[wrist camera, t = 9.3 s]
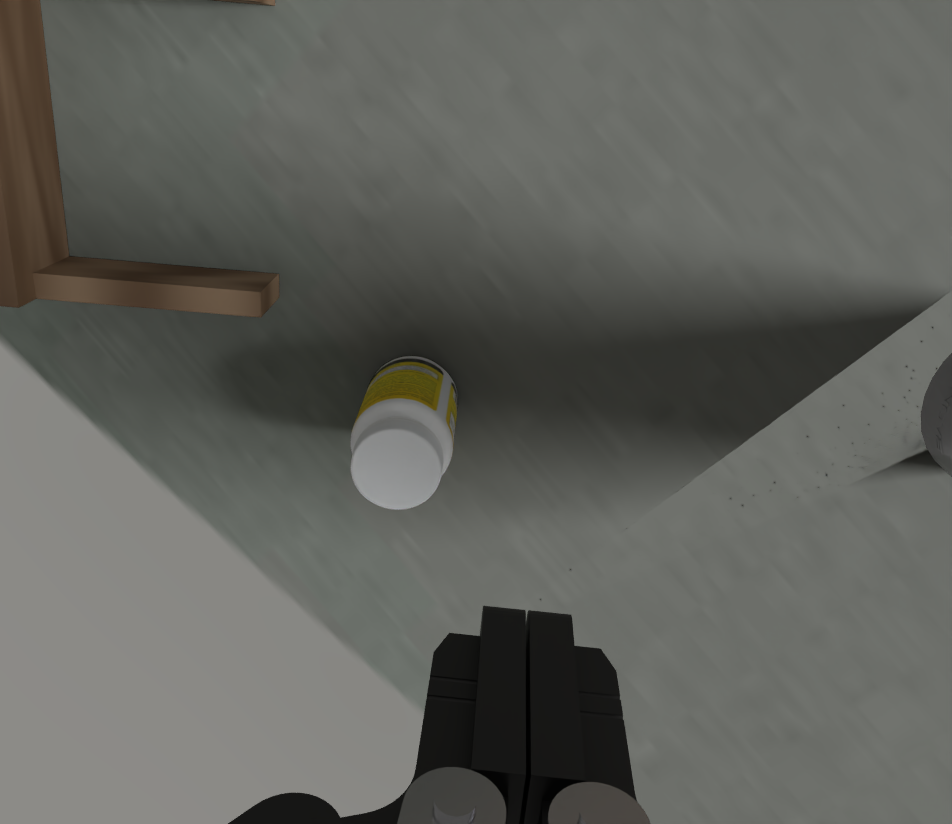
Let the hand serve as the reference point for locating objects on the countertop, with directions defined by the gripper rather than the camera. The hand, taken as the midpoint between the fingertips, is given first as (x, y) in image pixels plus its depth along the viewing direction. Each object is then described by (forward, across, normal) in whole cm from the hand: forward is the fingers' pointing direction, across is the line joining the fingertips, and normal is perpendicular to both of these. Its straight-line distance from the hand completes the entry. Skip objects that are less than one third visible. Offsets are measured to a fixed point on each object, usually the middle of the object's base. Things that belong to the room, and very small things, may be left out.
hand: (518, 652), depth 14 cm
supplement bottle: (+29, +5, +7) cm, 30 cm away
